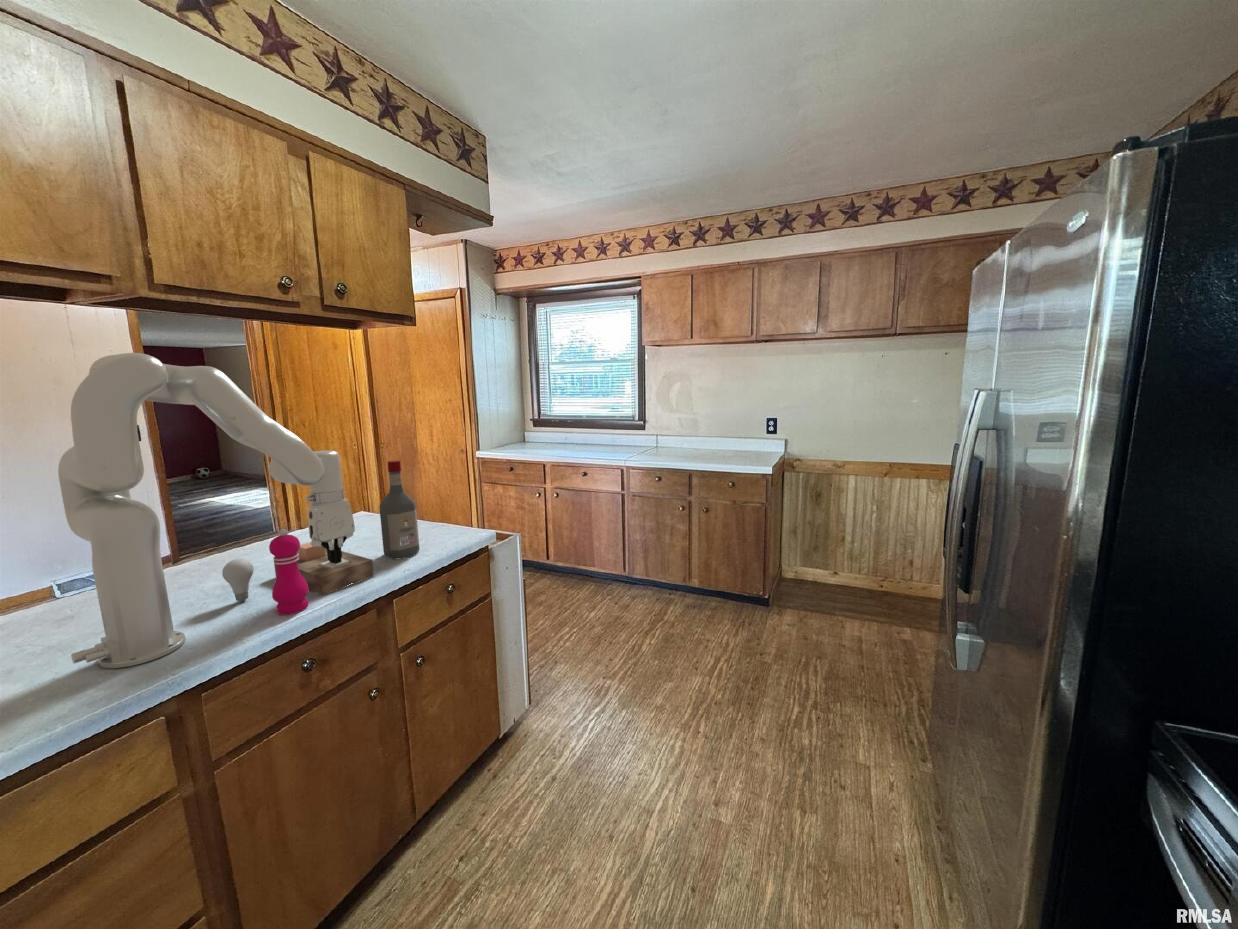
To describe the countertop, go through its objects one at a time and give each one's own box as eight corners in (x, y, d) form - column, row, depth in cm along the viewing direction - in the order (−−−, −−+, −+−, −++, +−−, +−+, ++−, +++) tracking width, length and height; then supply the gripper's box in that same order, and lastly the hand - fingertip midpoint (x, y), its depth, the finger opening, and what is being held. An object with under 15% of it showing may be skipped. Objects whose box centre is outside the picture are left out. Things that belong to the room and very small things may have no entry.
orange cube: (307, 565, 135) (305, 548, 134) (298, 562, 137) (296, 545, 137) (325, 560, 139) (323, 543, 138) (316, 557, 142) (314, 541, 141)
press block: (322, 595, 124) (320, 576, 123) (276, 577, 136) (273, 560, 135) (373, 576, 136) (372, 559, 135) (326, 561, 148) (325, 546, 147)
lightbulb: (225, 609, 117) (218, 565, 115) (228, 600, 122) (222, 558, 120) (256, 602, 120) (250, 560, 118) (258, 594, 125) (252, 553, 123)
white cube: (332, 584, 129) (330, 566, 129) (322, 580, 132) (320, 563, 131) (350, 578, 134) (349, 560, 133) (340, 574, 136) (338, 557, 135)
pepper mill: (292, 617, 112) (282, 534, 109) (266, 615, 113) (255, 532, 110) (317, 603, 119) (308, 525, 116) (293, 601, 120) (283, 524, 117)
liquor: (422, 553, 155) (415, 460, 150) (394, 560, 148) (385, 464, 143) (409, 547, 161) (401, 458, 156) (381, 554, 154) (372, 461, 149)
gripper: (305, 504, 121) (314, 573, 124) (362, 492, 134) (369, 555, 137) (290, 501, 125) (299, 568, 128) (347, 490, 137) (354, 551, 140)
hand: (335, 561), depth 132 cm, fingers closed
